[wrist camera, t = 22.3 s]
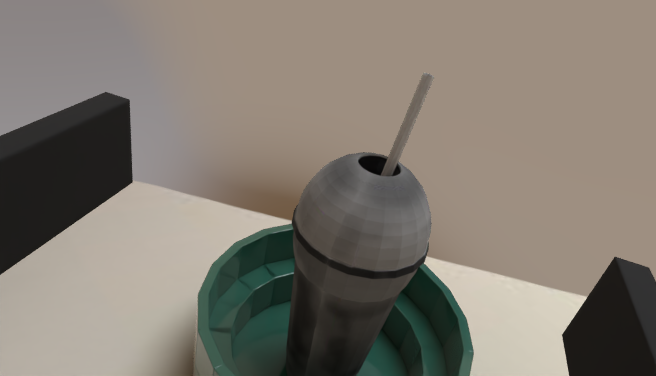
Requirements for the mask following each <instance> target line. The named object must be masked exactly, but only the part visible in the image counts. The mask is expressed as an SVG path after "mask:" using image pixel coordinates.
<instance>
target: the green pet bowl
mask: <svg viewBox="0 0 656 376" xmlns="http://www.w3.org/2000/svg"><path fill="white" fill-rule="evenodd" d="M293 234H294V230H293V227H292V224H288V225H283V226H278V227H273V228H267V229H263V230H261V231H259V232H257V233H255V234H253V235H250V236H248V237H246V238H244V239H242V240H240V241H238V242H236V243H234V244H233V245H232V246H231V247H230V248H229V249H228V250H227V251H226V252H225V253H224V254H223V255H221V256H220V257H219V258H218V259H217V260H216V261H215V262H214V263H213V264H212V266H211V267H210V270H209V272H208V274H207V276H206V278H205V280H204V282H203V285H202V287H201V289H200V291H199V293H198V300H197V315H196V330H195V344H194V358H193V376H287V371H286V358H287V353H286V346H287V336H288V326H289V316H290V306H291V296H292V287H293V277H294V267H295V256H294V248H293ZM473 355H474V351H473V346H472V342H471V337H470V332H469V328H468V323H467V319H466V317H465V315H464V314H463V312H462V310H461V308H460V307H459V305H458V303H457V302H456V300H455V298H454V296H453V295H452V293H451V291H450V290H449V288H448V287H447V286H446V285H445V284H444V283H443V282H442V281H441V280H440V279H439V278H438V277H437V276H436V275H435V274H434V273H433V272H432V271H431V270H430V269H429V268H428V267H427V266H426V265H425V264H424V263H423V264H422V265H421V266H420V267H418V269H417V271H416V273H415V274H414V276H413V277H412V279H411V280H410V281H409V283H408V284H407V286H406V287H405V288H404V289H403V290H401V292H400V294H399V296H398V298H397V300H396V302H395V303H394V305H393V307H392V309H391V311H390V313H389V315H388V317H387V319H386V321H385V323H384V325H383V327H382V328H381V330H380V332H379V334H378V336H377V338H376V340H375V342H374V344H373V346H372V348H371V350H370V352H369V354H368V355H367V357H366V359H365V361H364V363H363V365H362V367H361V369H360V371H359V373H358V374H357V375H356V376H470V371H471V366H472V361H473Z"/></svg>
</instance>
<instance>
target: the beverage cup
mask: <svg viewBox="0 0 656 376" xmlns="http://www.w3.org/2000/svg"><path fill="white" fill-rule="evenodd" d="M433 79H434V77H433V76H432V75H430V74H427V73H423V75H422V78H421V80H420V82H419V85H418V87H417V90H416V92H415V94H414V97H413V99H412V102H411V104H410V106H409V109H408V111H407V114H406V116H405V118H404V121H403V123H402V125H401V128H400V130H399V133H398V135H397V138H396V140H395V142H394V145H393V147H392V150H391V152H390V154H389V156H388V157H387V156H384V155H381V154H376V153H365V152H363V153H356V154H349V155H346V156H343V157H341V158H339V159H336V160H334V161H332V162H330V163H329V164H327V165H326V166H324V167H323V168H322V169H321V170H320V171H319V172H318V173H317V174H316V175H315V176H314V177H313V178H312V180H311V181H310V182H309V184H308V185H307V186H306V188H305V189H304V191H303V193H302V195H301V198H300V201H299V204H298V205H297V206H296V208H295V210H294V214H293V219H292V227H293V230H294V234H293V248H294V256H295V267H294V277H293V287H292V296H291V306H290V316H289V326H288V336H287V346H286V353H287V358H286V371H287V376H356V375H357V374H358V373H359V371H360V369H361V367H362V365H363V363H364V361H365V359H366V357H367V355H368V354H369V352H370V350H371V348H372V346H373V344H374V342H375V340H376V338H377V336H378V334H379V332H380V330H381V328H382V327H383V325H384V323H385V321H386V319H387V317H388V315H389V313H390V311H391V309H392V307H393V305H394V303H395V302H396V300H397V298H398V296H399V294H400V292H401V290H403V289H404V288H405V287H406V286H407V284H408V283H409V281H410V280H411V279H412V277H413V276H414V274H415V273H416V271H417V269H418V267H420V266H421V265H422V264H423V263H424V262H425V258H426V255H427V252H428V247H429V243H428V240H429V236H430V232H431V213H430V209H429V205H428V201H427V197H426V194H425V192H424V189H423V187H422V186H421V185H420V183H419V182H418V181H417V179H416V178H415V176H414V175H413V174H412V172H411V171H409V170H408V169H407V168H406V167H404V166H403V165H402V164H401V163H399V162H398V161H399V158H400V156H401V153H402V151H403V149H404V147H405V144H406V142H407V140H408V137H409V135H410V132H411V130H412V128H413V126H414V123H415V121H416V118H417V116H418V114H419V112H420V109H421V107H422V105H423V102H424V100H425V97H426V95H427V92H428V90H429V88H430V86H431V83H432V81H433Z"/></svg>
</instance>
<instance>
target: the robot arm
mask: <svg viewBox="0 0 656 376" xmlns="http://www.w3.org/2000/svg"><path fill="white" fill-rule="evenodd" d="M130 128H131V127H130V101H129V99H126V98H123V97H120V96H117V95H113V94H110V93H107V92H105V93H102V94H100V95H98V96H95V97H93V98H91V99H88V100H86V101H83V102H81V103H78V104H76V105H74V106H71V107H69V108H66V109H64V110H62V111H59V112H57V113H54V114H52V115H50V116H47V117H45V118H42V119H40V120H38V121H35V122H33V123H30V124H28V125H26V126H23V127H21V128H18V129H16V130H13V131H11V132H9V133H6V134H4V135H1V136H0V275H1V274H2V273H3V272H5V271H6V270H8V269H9V268H11V267H12V266H13V265H15V264H16V263H18V262H19V261H21V260H22V259H23V258H25V257H26V256H28V255H29V254H31V253H32V252H33V251H35V250H36V249H38V248H39V247H41V246H42V245H44V244H45V243H46V242H48V241H49V240H51V239H52V238H54V237H55V236H56V235H58V234H59V233H61V232H62V231H64V230H65V229H66V228H68V227H69V226H71V225H72V224H74V223H75V222H76V221H78V220H79V219H81V218H82V217H84V216H85V215H86V214H88V213H89V212H91V211H92V210H94V209H95V208H96V207H98V206H99V205H101V204H102V203H104V202H105V201H107V200H108V199H109V198H111V197H112V196H114V195H115V194H117V193H118V192H119V191H121V190H122V189H124V188H125V187H127V186H128V185H129V184H131V183H132V182H133V181H132V154H131V129H130ZM562 337H563V342H564V348H565V354H566V360H567V365H568V371H569V376H656V281H655V279H654V277H653V275H652V273H651V271H650V269H649V268H648V267H645V266H642V265H639V264H636V263H633V262H629V261H627V260H623V259H621V258H617V257H614V259H613V260H612V262H611V263H610V265H609V266H608V268H607V269H606V271H605V272H604V274H603V275H602V277H601V278H600V280H599V281H598V283H597V284H596V286H595V287H594V289H593V290H592V292H591V293H590V294H589V296H588V297H587V299H586V300H585V302H584V303H583V305H582V306H581V308H580V309H579V311H578V312H577V314H576V315H575V317H574V318H573V320H572V321H571V323H570V324H569V325H568V327H567V328H566V330H565V331H564V333H563V334H562Z"/></svg>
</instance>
